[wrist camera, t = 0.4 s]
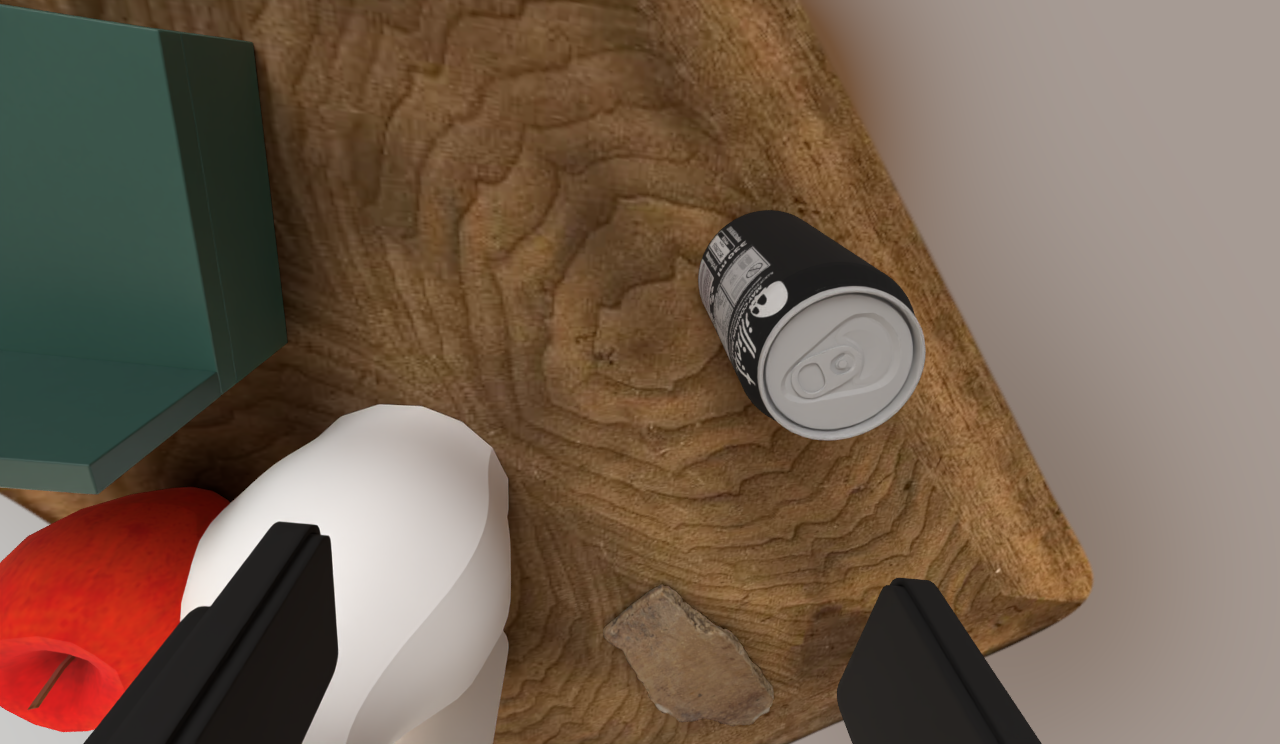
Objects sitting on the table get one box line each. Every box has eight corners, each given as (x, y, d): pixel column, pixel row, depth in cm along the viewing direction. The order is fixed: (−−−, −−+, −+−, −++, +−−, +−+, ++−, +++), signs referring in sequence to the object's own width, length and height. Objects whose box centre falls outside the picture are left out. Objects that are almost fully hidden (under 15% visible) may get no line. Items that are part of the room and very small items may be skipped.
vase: (432, 341, 31) (202, 676, 13) (573, 522, 37) (544, 927, 19) (228, 457, 34) (-200, 874, 16) (390, 610, 40) (212, 1046, 22)
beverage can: (838, 294, 32) (960, 401, 21) (727, 350, 33) (788, 478, 22) (793, 182, 29) (907, 237, 18) (674, 246, 30) (714, 334, 19)
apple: (72, 490, 34) (-178, 679, 23) (202, 416, 33) (0, 581, 22) (204, 598, 38) (44, 803, 27) (326, 537, 37) (207, 728, 26)
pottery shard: (796, 657, 46) (661, 575, 39) (808, 689, 43) (667, 607, 37) (717, 711, 48) (578, 642, 42) (725, 744, 46) (579, 676, 40)
